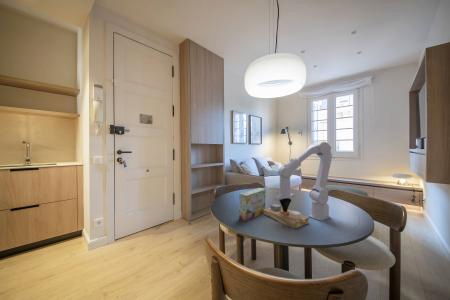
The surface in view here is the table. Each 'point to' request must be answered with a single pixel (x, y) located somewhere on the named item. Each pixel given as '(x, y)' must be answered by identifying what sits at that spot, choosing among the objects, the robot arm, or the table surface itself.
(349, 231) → the table surface
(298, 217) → the cream key
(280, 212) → the terracotta key
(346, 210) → the table surface
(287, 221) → the key console
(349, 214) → the table surface
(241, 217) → the snack box
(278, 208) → the slate key
